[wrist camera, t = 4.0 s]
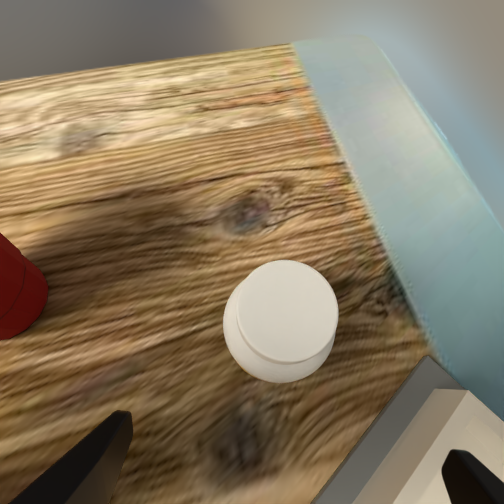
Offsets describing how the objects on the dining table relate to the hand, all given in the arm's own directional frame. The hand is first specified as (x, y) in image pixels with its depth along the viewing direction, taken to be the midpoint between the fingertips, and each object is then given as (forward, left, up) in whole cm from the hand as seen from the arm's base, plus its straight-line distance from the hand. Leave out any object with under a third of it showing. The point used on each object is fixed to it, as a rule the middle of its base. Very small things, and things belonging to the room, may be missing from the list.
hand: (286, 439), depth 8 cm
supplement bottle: (+3, +3, -11) cm, 12 cm away
